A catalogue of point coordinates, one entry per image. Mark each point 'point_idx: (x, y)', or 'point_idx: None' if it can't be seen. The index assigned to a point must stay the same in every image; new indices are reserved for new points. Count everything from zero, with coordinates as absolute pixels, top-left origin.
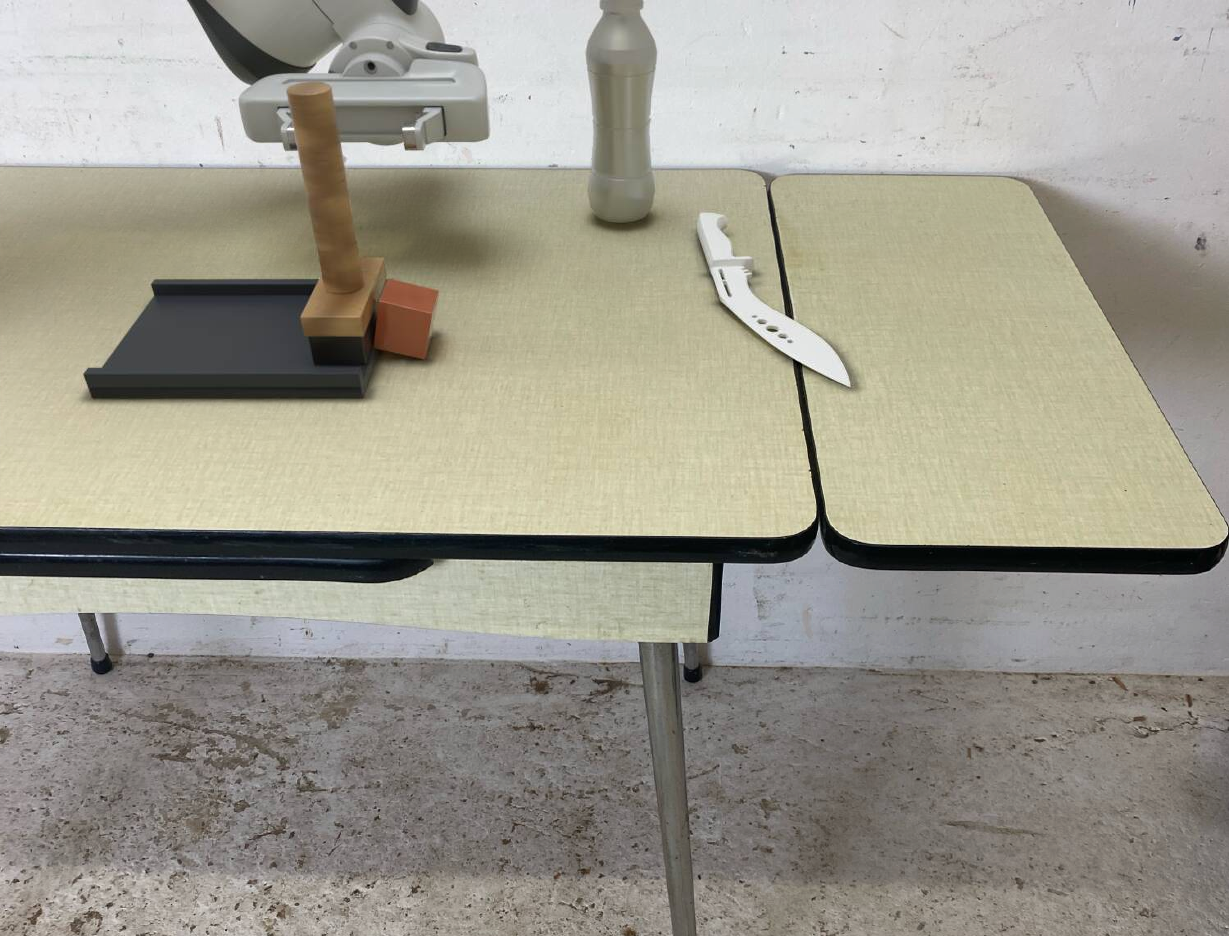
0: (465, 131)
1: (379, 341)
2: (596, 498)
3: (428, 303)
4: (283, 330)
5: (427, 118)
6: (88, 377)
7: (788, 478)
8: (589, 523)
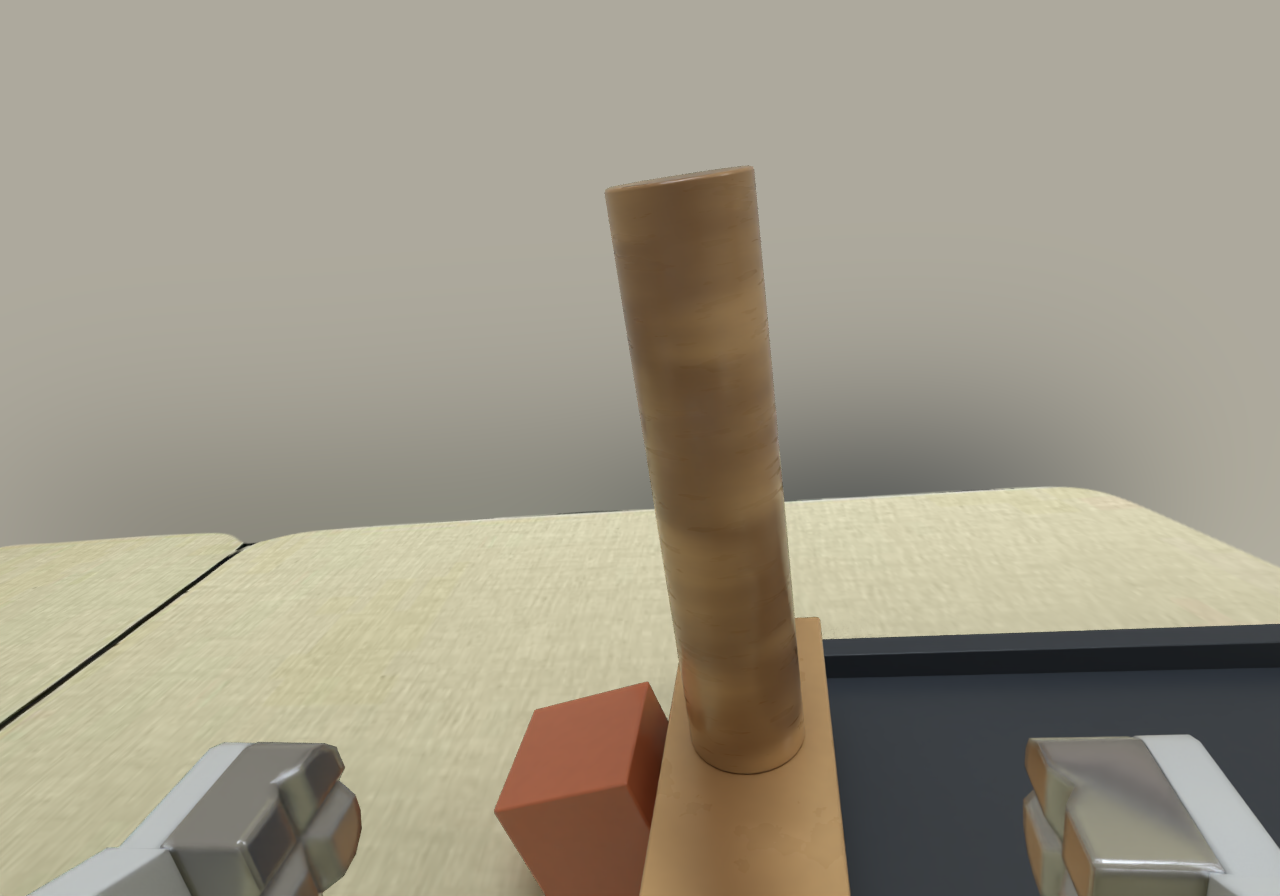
0: None
1: None
2: (431, 551)
3: (534, 739)
4: (977, 868)
5: (58, 884)
6: None
7: (219, 582)
8: (454, 529)
